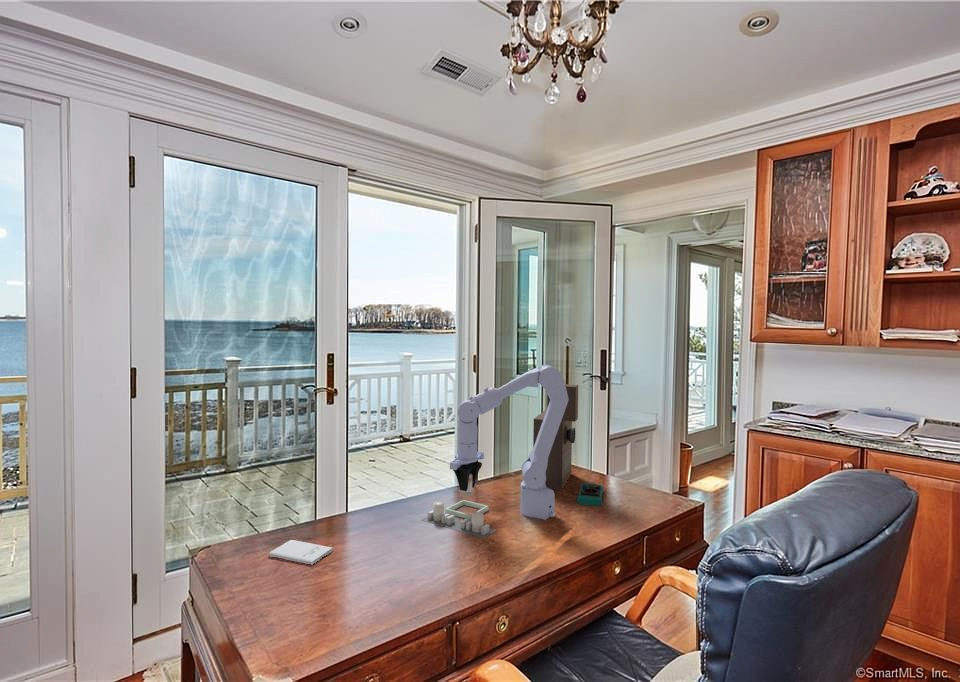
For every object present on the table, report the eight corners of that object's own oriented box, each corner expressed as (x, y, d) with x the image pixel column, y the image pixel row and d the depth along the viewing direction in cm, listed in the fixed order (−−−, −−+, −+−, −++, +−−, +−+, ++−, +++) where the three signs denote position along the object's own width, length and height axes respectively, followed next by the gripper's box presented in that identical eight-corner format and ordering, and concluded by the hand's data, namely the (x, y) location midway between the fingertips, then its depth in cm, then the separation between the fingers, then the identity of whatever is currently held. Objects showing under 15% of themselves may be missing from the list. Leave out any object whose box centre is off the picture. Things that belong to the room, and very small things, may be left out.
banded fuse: (474, 493, 148) (474, 474, 148) (468, 495, 146) (468, 476, 145) (466, 490, 150) (466, 472, 150) (459, 493, 147) (459, 474, 147)
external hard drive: (292, 545, 129) (333, 553, 125) (268, 559, 121) (312, 568, 117) (291, 538, 129) (333, 546, 125) (268, 552, 121) (312, 561, 117)
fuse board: (496, 534, 135) (496, 523, 135) (484, 542, 130) (484, 531, 130) (434, 517, 146) (434, 507, 146) (420, 524, 141) (420, 513, 141)
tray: (488, 514, 149) (488, 506, 149) (471, 524, 142) (471, 515, 142) (463, 507, 154) (463, 499, 154) (445, 517, 147) (445, 508, 147)
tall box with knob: (573, 491, 170) (575, 386, 169) (532, 486, 175) (533, 384, 174) (582, 475, 188) (583, 380, 187) (544, 470, 193) (545, 378, 192)
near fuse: (485, 530, 135) (485, 513, 135) (479, 533, 132) (479, 516, 132) (475, 527, 137) (476, 510, 137) (469, 531, 134) (469, 514, 134)
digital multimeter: (603, 492, 171) (603, 483, 170) (601, 508, 156) (601, 498, 156) (580, 490, 173) (581, 481, 172) (577, 505, 158) (577, 496, 158)
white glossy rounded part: (446, 519, 142) (446, 503, 142) (439, 522, 140) (439, 506, 139) (437, 516, 144) (437, 501, 144) (430, 520, 141) (431, 504, 141)
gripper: (470, 435, 155) (469, 479, 156) (441, 445, 143) (440, 492, 144) (489, 438, 152) (489, 484, 152) (461, 448, 139) (461, 497, 140)
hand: (467, 488), depth 148 cm, fingers closed on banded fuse, 3 cm apart
